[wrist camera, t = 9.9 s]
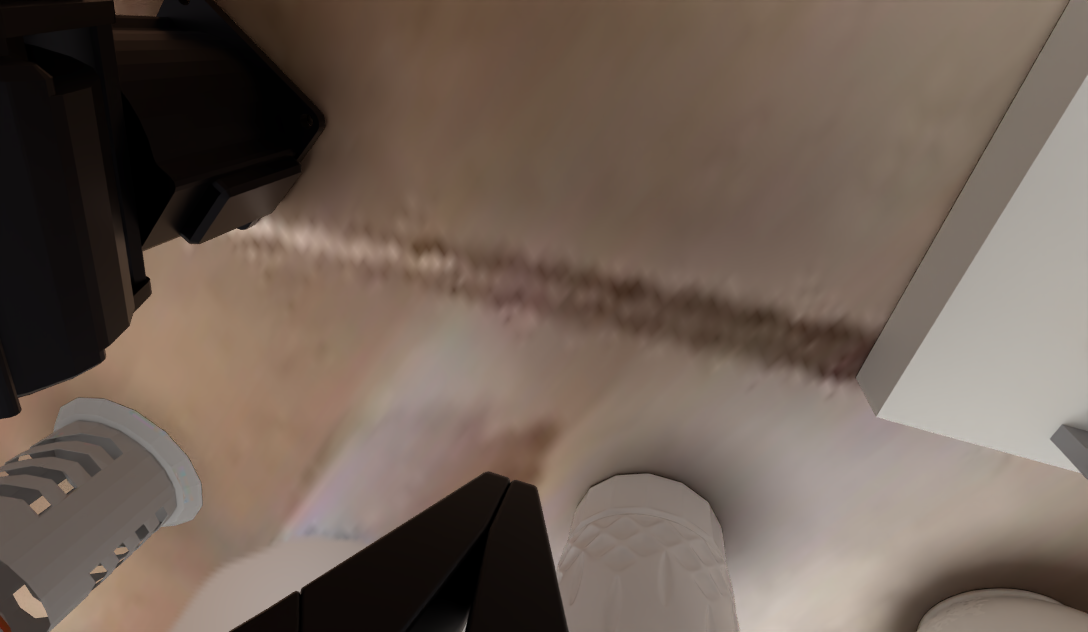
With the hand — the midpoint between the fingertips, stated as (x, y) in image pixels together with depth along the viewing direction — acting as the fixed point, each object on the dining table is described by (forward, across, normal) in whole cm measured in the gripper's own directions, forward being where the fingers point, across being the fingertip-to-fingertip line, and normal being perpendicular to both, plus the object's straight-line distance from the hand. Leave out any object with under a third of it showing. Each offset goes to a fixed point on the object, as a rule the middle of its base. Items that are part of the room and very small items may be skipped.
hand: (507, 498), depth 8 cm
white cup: (+13, +5, -13) cm, 20 cm away
